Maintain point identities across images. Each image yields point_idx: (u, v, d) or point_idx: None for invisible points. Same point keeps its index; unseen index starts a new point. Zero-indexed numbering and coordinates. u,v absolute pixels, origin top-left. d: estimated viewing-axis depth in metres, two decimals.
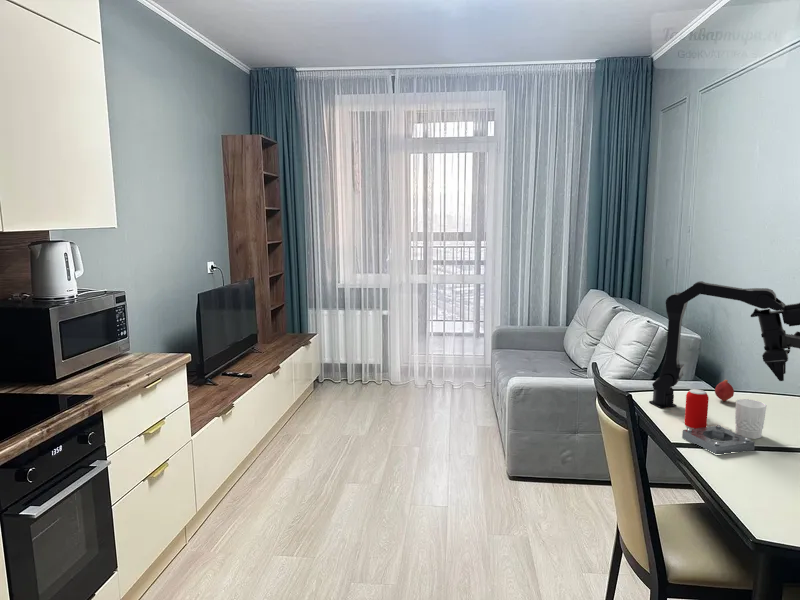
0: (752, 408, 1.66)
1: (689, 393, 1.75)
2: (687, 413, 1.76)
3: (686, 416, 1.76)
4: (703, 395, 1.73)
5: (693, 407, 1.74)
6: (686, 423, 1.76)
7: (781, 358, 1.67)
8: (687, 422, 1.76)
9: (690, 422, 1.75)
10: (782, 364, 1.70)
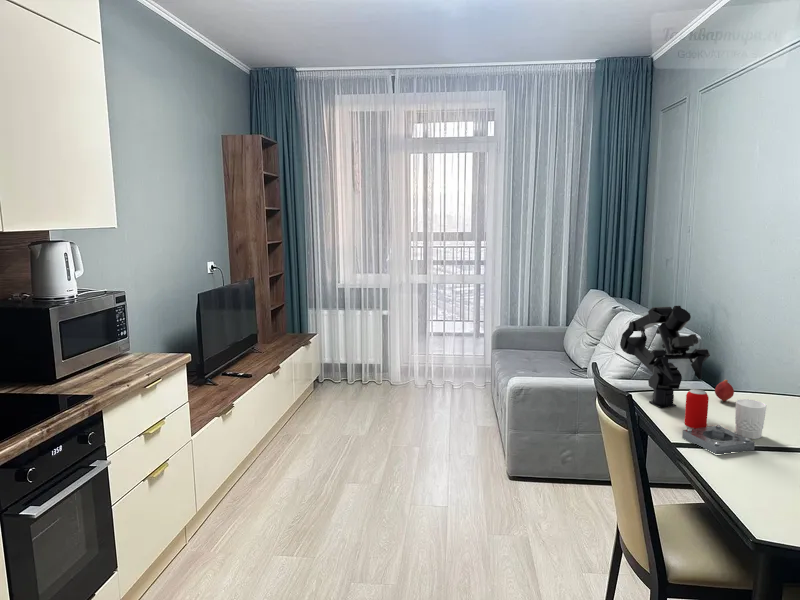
0: (752, 408, 1.66)
1: (689, 393, 1.75)
2: (687, 413, 1.76)
3: (686, 416, 1.76)
4: (703, 395, 1.73)
5: (693, 407, 1.74)
6: (686, 423, 1.76)
7: (652, 356, 1.85)
8: (687, 422, 1.76)
9: (690, 422, 1.75)
10: (663, 363, 1.84)
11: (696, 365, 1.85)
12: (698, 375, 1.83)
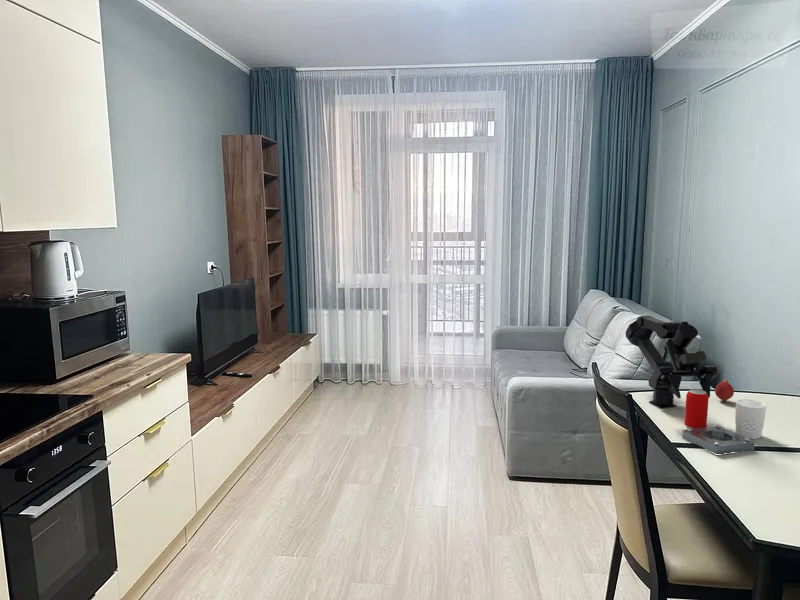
0: (752, 408, 1.66)
1: (689, 393, 1.75)
2: (687, 413, 1.76)
3: (686, 416, 1.76)
4: (703, 395, 1.73)
5: (693, 407, 1.74)
6: (686, 423, 1.76)
7: (659, 373, 1.80)
8: (687, 422, 1.76)
9: (690, 422, 1.75)
10: (670, 380, 1.79)
11: (704, 383, 1.80)
12: None
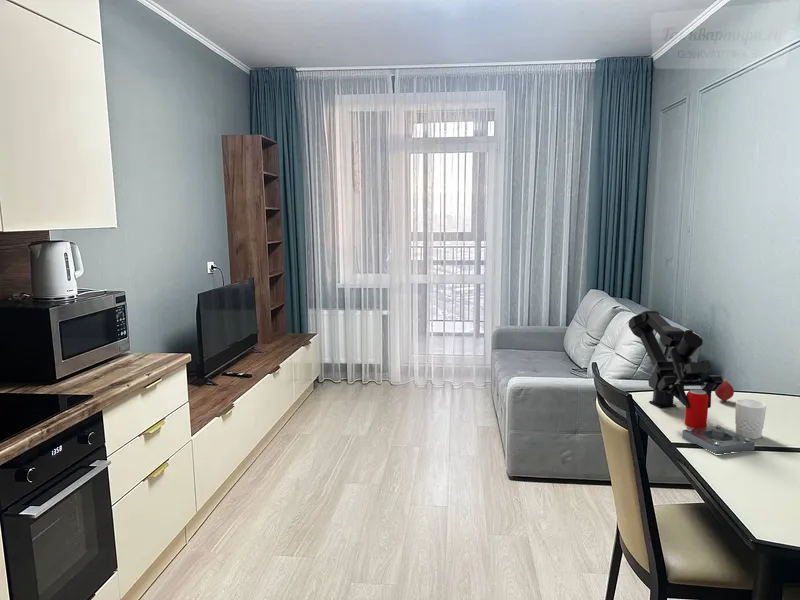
0: (752, 408, 1.66)
1: (689, 393, 1.75)
2: (687, 413, 1.76)
3: (686, 416, 1.76)
4: (703, 395, 1.73)
5: (693, 407, 1.74)
6: (686, 423, 1.76)
7: (663, 383, 1.78)
8: (687, 422, 1.76)
9: (690, 422, 1.75)
10: (678, 390, 1.76)
11: None
12: None
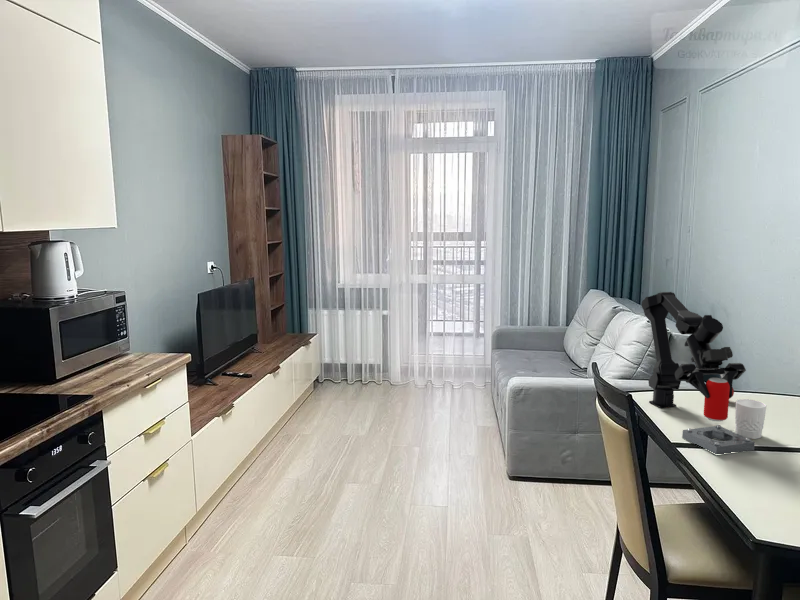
0: (752, 408, 1.66)
1: (709, 382, 1.64)
2: (707, 403, 1.64)
3: (705, 406, 1.65)
4: (724, 384, 1.61)
5: (713, 397, 1.62)
6: (705, 414, 1.65)
7: (681, 371, 1.66)
8: (707, 413, 1.64)
9: (709, 412, 1.63)
10: (697, 378, 1.65)
11: None
12: None
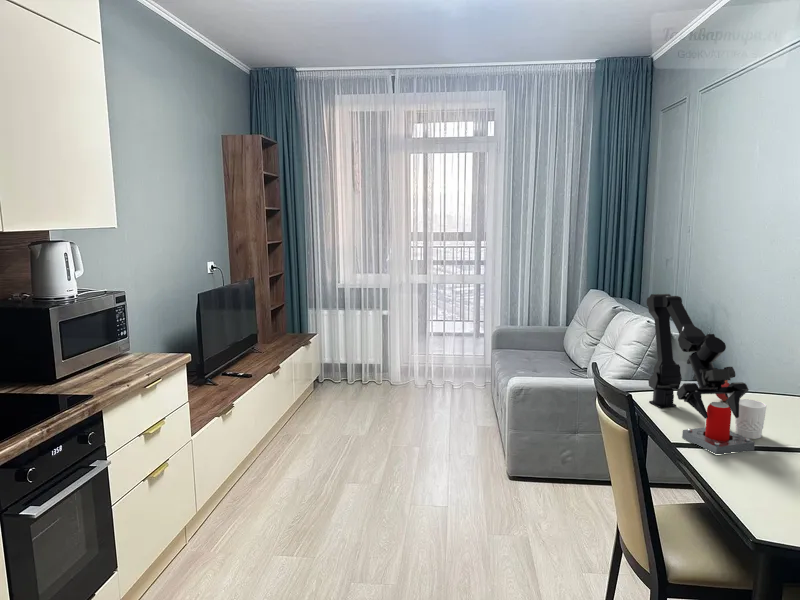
0: (752, 408, 1.66)
1: (710, 406, 1.63)
2: (708, 428, 1.64)
3: (707, 431, 1.64)
4: (726, 409, 1.61)
5: (715, 422, 1.62)
6: None
7: (683, 390, 1.65)
8: (708, 437, 1.64)
9: (711, 437, 1.63)
10: (695, 398, 1.64)
11: (732, 401, 1.65)
12: (735, 413, 1.63)
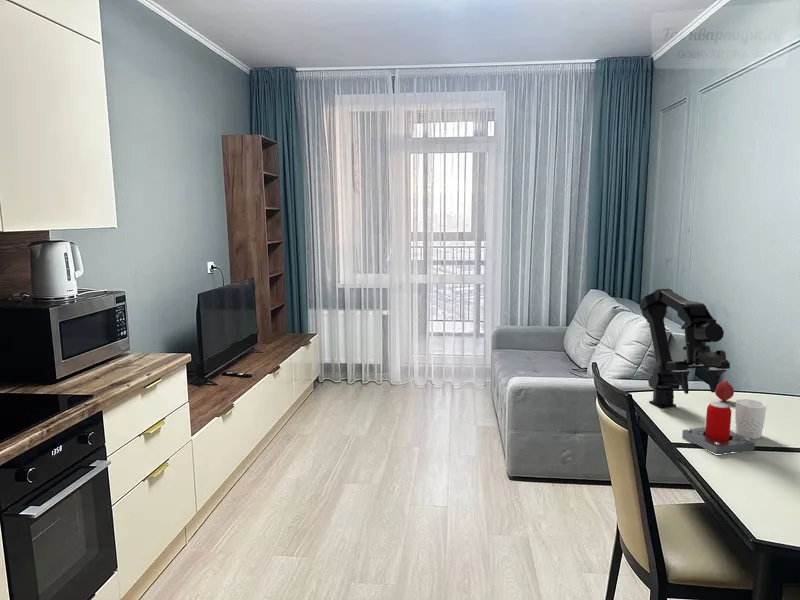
0: (752, 408, 1.66)
1: (710, 406, 1.63)
2: (708, 428, 1.64)
3: (707, 431, 1.64)
4: (726, 409, 1.61)
5: (715, 422, 1.62)
6: None
7: (674, 368, 1.73)
8: (709, 437, 1.64)
9: (711, 437, 1.63)
10: (682, 376, 1.74)
11: (713, 376, 1.76)
12: (712, 388, 1.76)
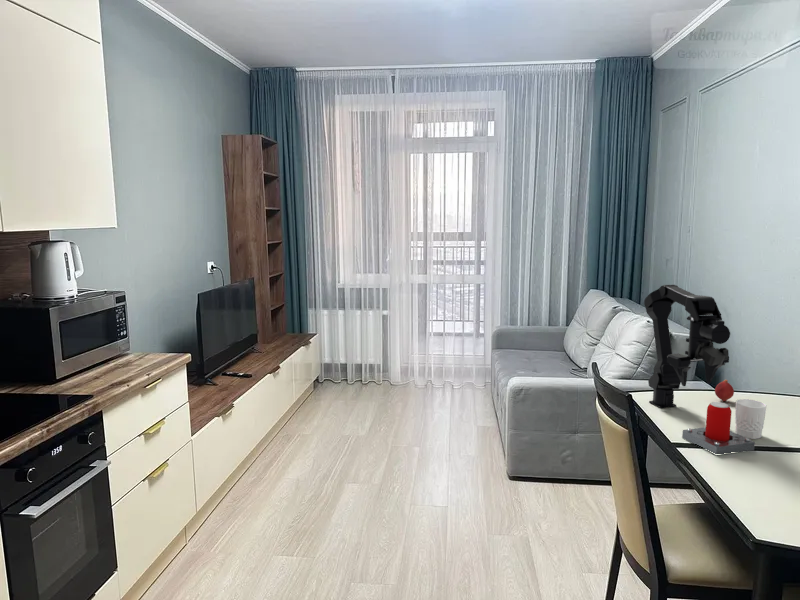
0: (752, 408, 1.66)
1: (710, 406, 1.63)
2: (708, 428, 1.64)
3: (707, 431, 1.64)
4: (726, 409, 1.61)
5: (715, 422, 1.62)
6: None
7: (676, 364, 1.73)
8: (709, 437, 1.64)
9: (711, 437, 1.63)
10: (682, 370, 1.75)
11: (710, 368, 1.78)
12: (708, 379, 1.79)
